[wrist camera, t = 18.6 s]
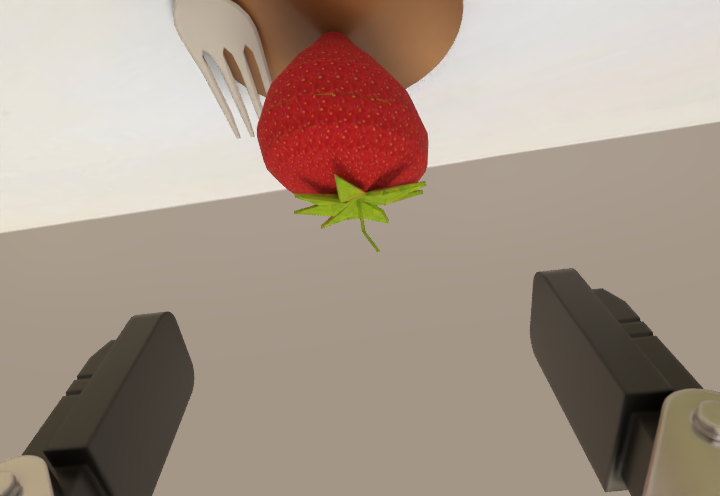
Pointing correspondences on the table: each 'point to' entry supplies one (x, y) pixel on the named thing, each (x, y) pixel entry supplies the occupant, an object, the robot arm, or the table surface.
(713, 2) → the table surface
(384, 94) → the strawberry
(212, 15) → the fork
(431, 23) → the copper coaster
